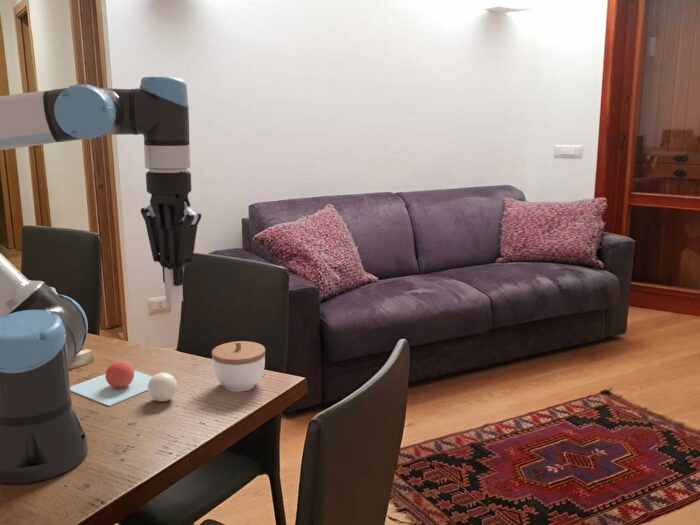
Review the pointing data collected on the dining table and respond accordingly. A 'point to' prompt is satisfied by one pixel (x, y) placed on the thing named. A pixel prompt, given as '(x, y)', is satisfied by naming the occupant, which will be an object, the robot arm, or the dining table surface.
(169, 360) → the dining table surface
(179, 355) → the dining table surface
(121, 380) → the red ball
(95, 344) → the dining table surface
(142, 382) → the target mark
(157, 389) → the cue ball
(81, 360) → the stopper strip
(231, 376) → the lidded jar
